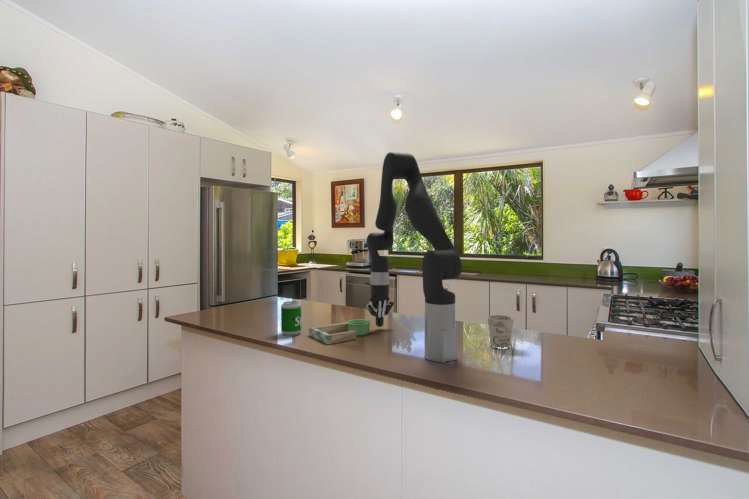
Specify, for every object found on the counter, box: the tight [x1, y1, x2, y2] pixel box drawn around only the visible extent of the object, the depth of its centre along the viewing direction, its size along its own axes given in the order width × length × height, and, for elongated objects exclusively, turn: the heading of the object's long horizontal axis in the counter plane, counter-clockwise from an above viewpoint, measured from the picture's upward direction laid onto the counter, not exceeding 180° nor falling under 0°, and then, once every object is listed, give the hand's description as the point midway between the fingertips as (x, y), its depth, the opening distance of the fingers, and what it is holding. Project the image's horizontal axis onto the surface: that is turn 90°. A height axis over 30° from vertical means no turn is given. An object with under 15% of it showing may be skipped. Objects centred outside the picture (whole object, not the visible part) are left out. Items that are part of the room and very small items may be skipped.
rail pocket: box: [308, 321, 357, 345], centre depth 150 cm, size 14×20×3 cm
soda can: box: [280, 300, 303, 337], centre depth 153 cm, size 8×8×12 cm
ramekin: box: [346, 318, 371, 336], centre depth 155 cm, size 9×9×4 cm
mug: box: [487, 314, 514, 348], centre depth 138 cm, size 8×13×10 cm, turn 152°
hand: (379, 326), depth 160 cm, fingers closed
